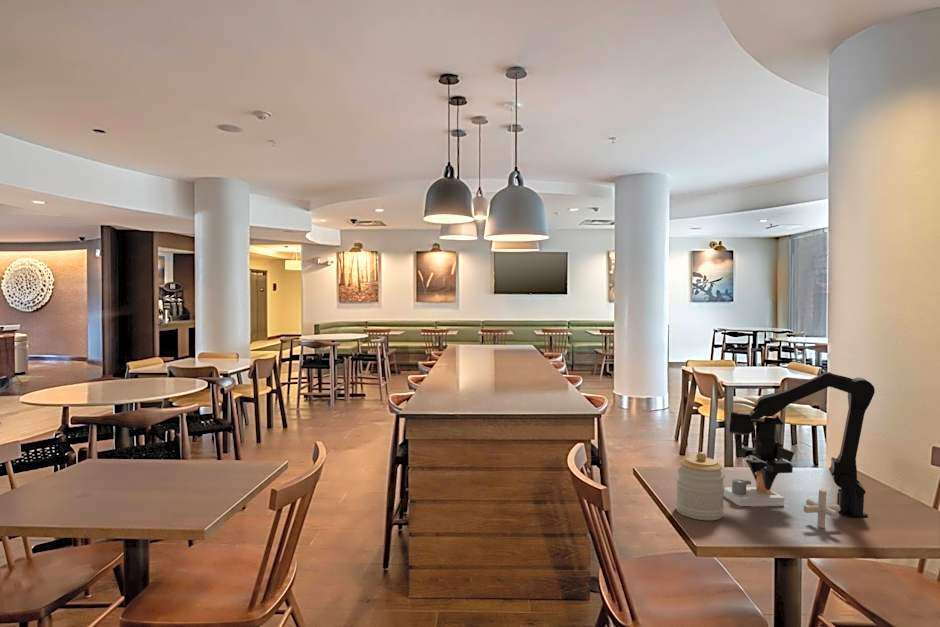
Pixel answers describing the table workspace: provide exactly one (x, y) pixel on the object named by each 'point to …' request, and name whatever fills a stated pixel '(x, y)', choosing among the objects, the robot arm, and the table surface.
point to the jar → (700, 488)
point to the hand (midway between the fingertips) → (763, 487)
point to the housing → (751, 495)
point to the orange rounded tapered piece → (761, 483)
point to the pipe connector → (821, 508)
